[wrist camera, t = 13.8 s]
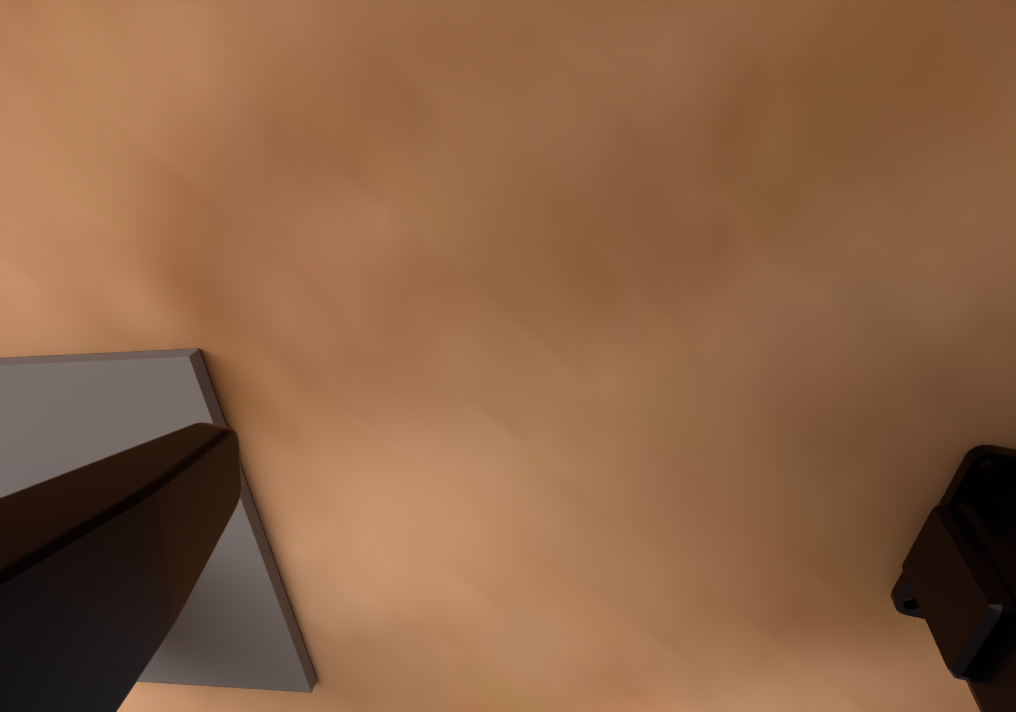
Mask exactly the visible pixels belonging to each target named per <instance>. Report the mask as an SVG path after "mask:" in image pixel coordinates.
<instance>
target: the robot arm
mask: <svg viewBox="0 0 1016 712" xmlns="http://www.w3.org/2000/svg"><path fill="white" fill-rule="evenodd" d="M987 460H992V462H991V463H990V464H989V465H987V466H984V467H979V466H980V465H981V464H982V463H983V462H985V461H987ZM241 489H242V481H241V465H240V450H239V439H238V436H237V433H236V432H235V431H234V430H233V429H232V428H229V427H224V426H220V425H215V424H210V423H204V422H199V423H195V424H192V425H189V426H187V427H184V428H182V429H179V430H176V431H174V432H171V433H168V434H166V435H163V436H161V437H158V438H155V439H153V440H150V441H148V442H145V443H142V444H140V445H137V446H134V447H132V448H129V449H127V450H124V451H121V452H119V453H116V454H114V455H111V456H108V457H106V458H103V459H100V460H98V461H95V462H93V463H90V464H87V465H85V466H82V467H79V468H77V469H74V470H72V471H69V472H66V473H64V474H61V475H59V476H56V477H53V478H51V479H48V480H45V481H43V482H40V483H38V484H35V485H32V486H30V487H27V488H24V489H22V490H19V491H17V492H14V493H11V494H9V495H6V496H4V497H1V498H0V712H117V710H118V709H119V707H120V706H121V704H122V703H123V701H124V700H125V698H126V697H127V695H128V694H129V692H130V691H131V689H132V688H133V686H134V685H135V683H136V682H137V680H138V679H139V677H140V676H141V674H142V673H143V671H144V670H145V668H146V667H147V665H148V664H149V662H150V661H151V659H152V658H153V656H154V655H155V653H156V652H157V650H158V649H159V647H160V646H161V644H162V643H163V641H164V640H165V638H166V636H167V635H168V633H169V632H170V630H171V629H172V627H173V625H174V624H175V622H176V620H177V619H178V617H179V615H180V613H181V611H182V610H183V608H184V606H185V604H186V603H187V601H188V599H189V597H190V595H191V593H192V591H193V589H194V587H195V585H196V583H197V582H198V580H199V578H200V576H201V574H202V572H203V570H204V568H205V566H206V564H207V562H208V561H209V559H210V557H211V555H212V553H213V551H214V549H215V547H216V545H217V543H218V542H219V540H220V538H221V536H222V534H223V532H224V530H225V528H226V526H227V524H228V522H229V521H230V519H231V517H232V515H233V513H234V511H235V509H236V507H237V505H238V502H239V499H240V495H241ZM902 568H903V572H902V573H901V575H900V577H899V579H898V581H897V583H896V585H895V586H894V588H893V590H892V593H891V598H892V601H893V603H894V605H895V608H896V610H897V611H899V612H900V613H902V614H905V615H908V616H913V617H918V618H922V619H925V620H926V622H927V624H928V626H929V628H930V631H931V633H932V635H933V637H934V640H935V642H936V644H937V646H938V648H939V651H940V653H941V655H942V657H943V660H944V662H945V664H946V666H947V668H948V669H949V671H950V672H951V674H952V675H953V677H954V678H958V679H962V680H966V682H967V684H968V686H969V688H970V690H971V693H972V695H973V697H974V699H975V701H976V703H977V705H978V707H979V710H980V712H1016V450H1012V449H1007V448H1002V447H997V446H992V445H982V446H978V447H975V448H973V449H972V450H970V451H969V452H968V453H967V454H966V455H965V457H964V459H963V461H962V463H961V464H960V466H959V468H958V470H957V472H956V474H955V475H954V477H953V479H952V481H951V483H950V485H949V487H948V488H947V490H946V492H945V494H944V496H943V498H942V499H941V501H940V503H939V504H938V505H937V506H936V507H934V508H933V509H932V511H931V513H930V515H929V517H928V518H927V520H926V522H925V524H924V526H923V528H922V530H921V531H920V533H919V535H918V537H917V539H916V541H915V543H914V544H913V546H912V548H911V550H910V552H909V554H908V556H907V557H906V559H905V561H904V563H903V565H902ZM909 598H914V599H912V600H906V599H909Z"/></svg>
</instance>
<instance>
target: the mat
mask: <svg viewBox="0 0 1016 712" xmlns="http://www.w3.org/2000/svg"><path fill="white" fill-rule="evenodd" d="M199 422H204V423H210V424H215V425H220V426H224V427H227V426H226V423H225V421H224V418H223V415H222V412H221V409H220V407H219V404H218V401H217V398H216V395H215V392H214V390H213V387H212V384H211V381H210V378H209V376H208V373H207V370H206V367H205V364H204V362H203V359H202V356H201V353H200V350H199V349H180V350H159V351H138V352H117V353H96V354H75V355H55V356H34V357H13V358H0V498H1V497H4V496H6V495H9V494H11V493H14V492H17V491H19V490H22V489H24V488H27V487H30V486H32V485H35V484H38V483H40V482H43V481H45V480H48V479H51V478H53V477H56V476H59V475H61V474H64V473H66V472H69V471H72V470H74V469H77V468H79V467H82V466H85V465H87V464H90V463H93V462H95V461H98V460H100V459H103V458H106V457H108V456H111V455H114V454H116V453H119V452H121V451H124V450H127V449H129V448H132V447H134V446H137V445H140V444H142V443H145V442H148V441H150V440H153V439H155V438H158V437H161V436H163V435H166V434H168V433H171V432H174V431H176V430H179V429H182V428H184V427H187V426H189V425H192V424H195V423H199ZM241 481H242V489H241V495H240V499H239V502H238V505H237V507H236V509H235V511H234V513H233V515H232V517H231V519H230V521H229V522H228V524H227V526H226V528H225V530H224V532H223V534H222V536H221V538H220V540H219V542H218V543H217V545H216V547H215V549H214V551H213V553H212V555H211V557H210V559H209V561H208V562H207V564H206V566H205V568H204V570H203V572H202V574H201V576H200V578H199V580H198V582H197V583H196V585H195V587H194V589H193V591H192V593H191V595H190V597H189V599H188V601H187V603H186V604H185V606H184V608H183V610H182V611H181V613H180V615H179V617H178V619H177V620H176V622H175V624H174V625H173V627H172V629H171V630H170V632H169V633H168V635H167V636H166V638H165V640H164V641H163V643H162V644H161V646H160V647H159V649H158V650H157V652H156V653H155V655H154V656H153V658H152V659H151V661H150V662H149V664H148V665H147V667H146V668H145V670H144V671H143V673H142V674H141V676H140V677H139V679H138V680H137V682H152V683H168V684H184V685H200V686H216V687H232V688H248V689H263V690H279V691H295V692H312V690H313V688H314V686H315V684H316V682H317V679H316V676H315V673H314V670H313V668H312V665H311V662H310V659H309V656H308V654H307V651H306V648H305V645H304V642H303V640H302V637H301V634H300V631H299V628H298V625H297V623H296V620H295V617H294V614H293V611H292V609H291V606H290V603H289V600H288V597H287V595H286V592H285V589H284V586H283V583H282V581H281V578H280V575H279V572H278V569H277V567H276V564H275V561H274V558H273V555H272V552H271V550H270V547H269V544H268V541H267V538H266V536H265V533H264V530H263V527H262V524H261V522H260V519H259V516H258V513H257V510H256V508H255V505H254V502H253V499H252V496H251V494H250V491H249V488H248V485H247V482H246V480H245V477H244V474H243V471H242V468H241Z"/></svg>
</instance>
